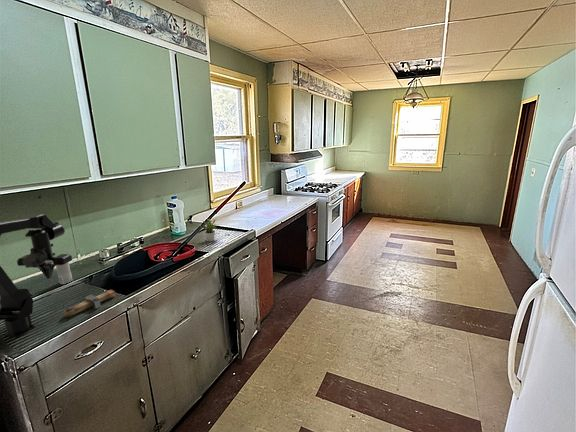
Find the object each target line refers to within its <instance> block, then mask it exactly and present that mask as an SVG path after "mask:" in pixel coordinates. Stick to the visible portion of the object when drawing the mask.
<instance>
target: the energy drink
mask: <svg viewBox="0 0 576 432" xmlns="http://www.w3.org/2000/svg"><path fill="white" fill-rule="evenodd" d="M70 266H71V265H70V261H69V262H67V263H66V264H64V265H55V270H56V273H57V274H56V275H57V278H58V282H59V284H60V285H67V284H66V283H68V284H70V283H71V281H72V282H73V275H72V271H71V267H70ZM69 282H70V283H69Z"/></svg>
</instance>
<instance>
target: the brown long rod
mask: <svg viewBox="0 0 576 432" xmlns="http://www.w3.org/2000/svg"><path fill="white" fill-rule="evenodd" d="M115 296H116V291H115V290H113V289H109V290H106V291H104V292H102V293H100V294H98V295H96V296H95V297H97V298H99V299H100V303H102V302H104V301H106V300H109V299H111V298H113V297H115ZM91 307H93V303H92V302H91V301H90V300H88V299H86V300H84V301H82V302H81V303H78V304H77V303H76V304H75V305H73V306H68V307H66V308H65V309H64V310H63V311H62V314H63V317H64V318H70V317H73V316H74V315H76V314H78V313H81V312H82V311H85V310H87V309H88V308H91Z"/></svg>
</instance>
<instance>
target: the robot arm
mask: <svg viewBox="0 0 576 432" xmlns="http://www.w3.org/2000/svg"><path fill="white" fill-rule="evenodd" d="M27 229H28V232H27V233H25V238H26V237H27V238H28V237H30V240H31V244H32V247H31V248H30V254H26V255H23V256H21V257H19V258H18V259H17V261H16V263H17V266H18V267H21V266H24V267H25V268H34V269H35V268H36V269H39V270H40V271H41V273H42V274H43V275H44V277H45V278H46V279H51V278H52V277H53V273H54V270H55V268H56V265H64V264H66V263H67V262H69V263H70V261H73V256H72V255H71V254H70V253H61V254H59V255H57V256H55V255H56V253H55V252H53V250H52V247H54V243H51V241H52V240H54V239H57V238H59V237H61V236H63V235H65V231H66V230H65V228H64V227H63V226H62V224H59V222H58V221H51V219H50V218H48V216H47V215H46V213H45V214H39V213H38V214H36V213H35V214H33V213H31V214H30V213H29V214H26V215H22V216H21V217H20V218H17V219H12V220H5V221H0V237H1V236H2V235H3V234H6V233H12V232H16V231H21V230H27ZM33 306H34V299H33V294H31V293H30V291H29V289H28V288H18V287H17V286H16V285H15V283H14V281H12V279H11V278H10V276H9V275H8V274H7V272H6V271H5V270H4V268H3V267H2V266H1V265H0V321H4V326H5V329H6V332H5V333H4V335H5V336H8V337H9V336H10V337H16V338H19V337H21V336H22V335H24V334H25V333H27V332H29V331H31V330H32V329H33V328H35V327H36V325H34V324H33V321H32V317H31V314H33V309H34V307H33Z"/></svg>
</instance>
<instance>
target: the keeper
mask: <svg viewBox="0 0 576 432" xmlns="http://www.w3.org/2000/svg"><path fill="white" fill-rule="evenodd" d="M85 299H86V300H90V301H91V302H92V303H93V306H92V307H93V309H94V310H97V309H100V308H101V302H100V299H99V298H97V297H96V296H95V295H93V294H90V295H87V296H85ZM99 307H100V308H99Z"/></svg>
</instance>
